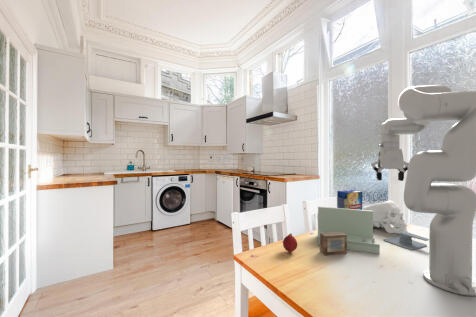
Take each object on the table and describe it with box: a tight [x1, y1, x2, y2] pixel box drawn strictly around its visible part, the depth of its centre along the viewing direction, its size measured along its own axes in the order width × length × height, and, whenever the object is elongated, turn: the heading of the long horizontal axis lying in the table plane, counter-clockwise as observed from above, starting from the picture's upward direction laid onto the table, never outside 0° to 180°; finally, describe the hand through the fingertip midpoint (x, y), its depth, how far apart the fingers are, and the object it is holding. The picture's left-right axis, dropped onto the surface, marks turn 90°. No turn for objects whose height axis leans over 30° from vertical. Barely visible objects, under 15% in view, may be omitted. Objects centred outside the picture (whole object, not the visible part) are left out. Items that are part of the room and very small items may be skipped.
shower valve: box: [383, 231, 429, 251], centre depth 97 cm, size 12×6×15 cm
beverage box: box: [336, 189, 363, 210], centre depth 113 cm, size 7×11×22 cm, turn 115°
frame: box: [319, 232, 348, 256], centre depth 88 cm, size 4×10×8 cm, turn 99°
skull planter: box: [362, 200, 409, 235], centre depth 118 cm, size 14×20×19 cm
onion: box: [282, 233, 298, 253], centre depth 88 cm, size 6×6×8 cm
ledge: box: [317, 205, 381, 255], centre depth 97 cm, size 13×24×15 cm, turn 69°
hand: (390, 180), depth 105 cm, fingers open, 9 cm apart
